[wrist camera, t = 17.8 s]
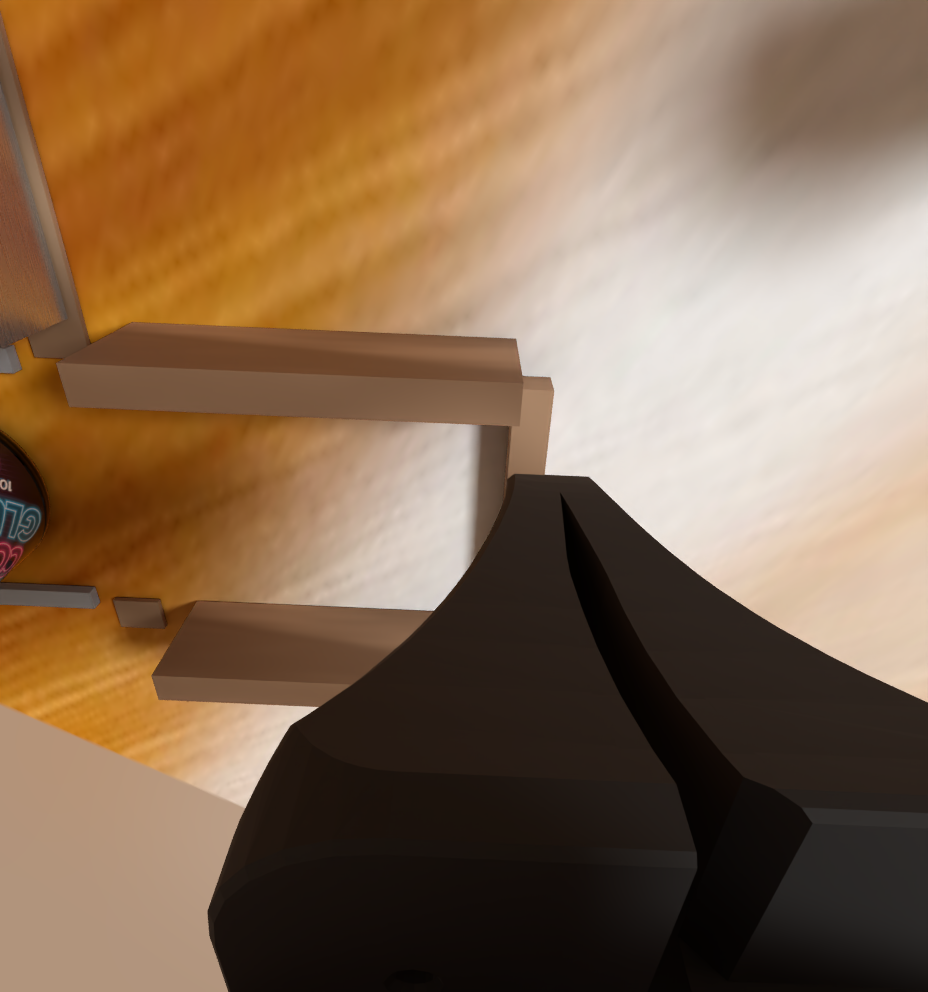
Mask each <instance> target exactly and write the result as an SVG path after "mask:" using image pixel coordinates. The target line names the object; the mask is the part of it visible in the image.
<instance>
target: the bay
mask: <svg viewBox="0 0 928 992" xmlns="http://www.w3.org/2000/svg"><path fill="white" fill-rule="evenodd" d="M20 370H22V368H21V365H20V362H19V359H18V356H17V353H16V350H15V347H14V345H7V346H5V347H3V348H0V373H16V372H18V371H20ZM99 603H100V600H99V597H98V594H97V591H96V588H95V587H90V586H68V585H45V584H23V583H0V605H22V606H44V607H67V608H89V609H95V608H96V607H97V606H98V604H99Z"/></svg>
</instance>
